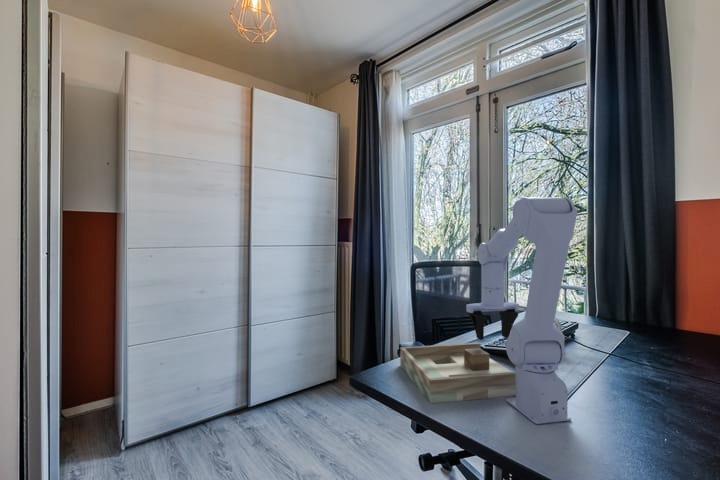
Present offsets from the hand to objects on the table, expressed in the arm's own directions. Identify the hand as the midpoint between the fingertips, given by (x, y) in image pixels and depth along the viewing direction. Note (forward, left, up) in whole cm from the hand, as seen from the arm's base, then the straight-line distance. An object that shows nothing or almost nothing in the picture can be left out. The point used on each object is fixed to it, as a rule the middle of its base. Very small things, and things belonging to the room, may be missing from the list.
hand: (492, 338), depth 90 cm
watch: (+12, -27, -9) cm, 31 cm away
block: (-3, +7, -6) cm, 10 cm away
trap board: (-3, +12, -9) cm, 15 cm away
